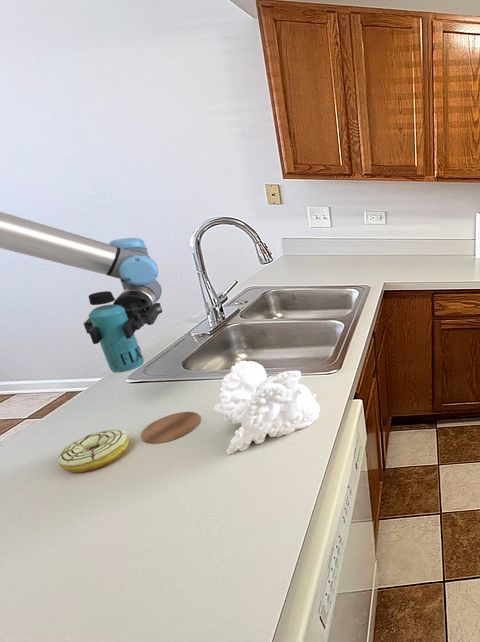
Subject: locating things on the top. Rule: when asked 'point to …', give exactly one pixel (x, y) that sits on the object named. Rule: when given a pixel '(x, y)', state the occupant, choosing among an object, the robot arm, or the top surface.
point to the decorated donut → (93, 451)
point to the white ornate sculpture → (264, 404)
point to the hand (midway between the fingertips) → (110, 335)
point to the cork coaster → (171, 427)
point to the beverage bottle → (114, 333)
